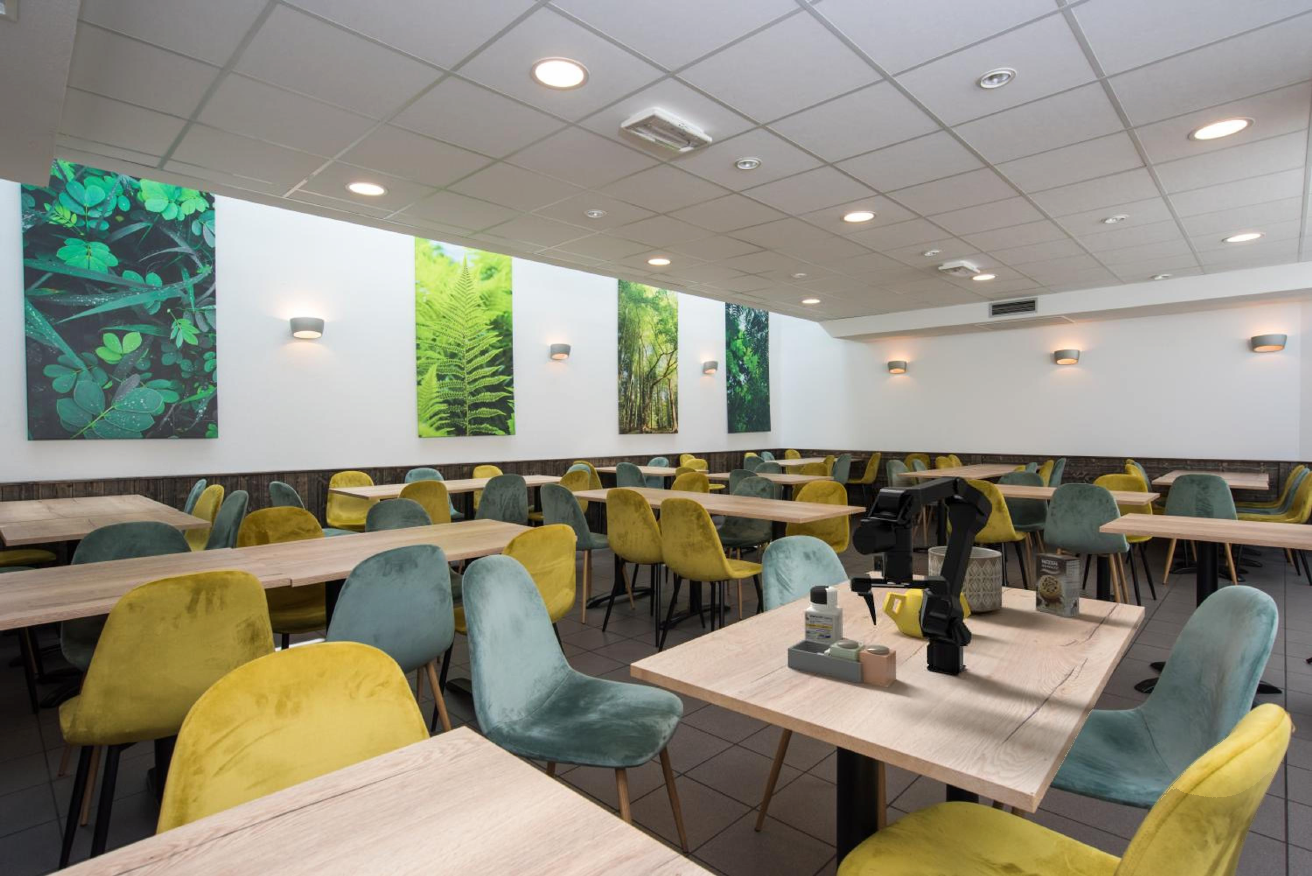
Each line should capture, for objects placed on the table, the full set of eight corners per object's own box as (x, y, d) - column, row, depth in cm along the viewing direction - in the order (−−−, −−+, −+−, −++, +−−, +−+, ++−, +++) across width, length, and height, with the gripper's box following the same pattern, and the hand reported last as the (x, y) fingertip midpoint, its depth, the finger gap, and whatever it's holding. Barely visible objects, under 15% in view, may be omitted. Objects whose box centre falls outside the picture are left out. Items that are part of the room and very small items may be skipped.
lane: (875, 672, 144) (875, 653, 144) (860, 683, 138) (860, 663, 138) (804, 656, 154) (804, 639, 154) (787, 666, 148) (787, 648, 148)
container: (804, 641, 166) (804, 588, 166) (812, 633, 173) (812, 582, 172) (836, 646, 162) (835, 592, 162) (843, 637, 169) (842, 585, 169)
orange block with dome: (870, 673, 144) (870, 642, 144) (896, 679, 140) (895, 647, 140) (860, 681, 139) (859, 649, 139) (886, 687, 136) (886, 654, 136)
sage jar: (865, 672, 144) (864, 641, 144) (855, 680, 140) (854, 648, 140) (840, 667, 148) (840, 637, 148) (830, 674, 143) (829, 643, 143)
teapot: (973, 632, 172) (973, 585, 172) (941, 646, 161) (941, 596, 161) (912, 619, 185) (912, 575, 185) (879, 630, 174) (878, 584, 174)
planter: (1005, 604, 199) (1004, 549, 199) (998, 620, 182) (998, 559, 182) (935, 596, 209) (934, 544, 209) (923, 611, 193) (922, 553, 192)
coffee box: (1034, 610, 193) (1034, 553, 192) (1049, 607, 195) (1049, 552, 195) (1065, 617, 184) (1065, 559, 184) (1080, 615, 187) (1080, 557, 187)
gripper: (939, 543, 143) (939, 617, 143) (847, 542, 147) (848, 613, 147) (950, 553, 132) (950, 632, 132) (851, 551, 136) (852, 628, 136)
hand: (898, 626), depth 137 cm, fingers open, 9 cm apart
